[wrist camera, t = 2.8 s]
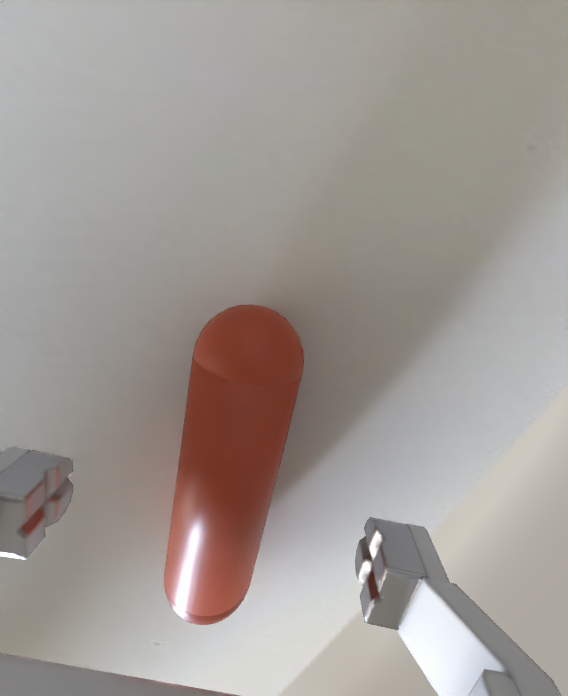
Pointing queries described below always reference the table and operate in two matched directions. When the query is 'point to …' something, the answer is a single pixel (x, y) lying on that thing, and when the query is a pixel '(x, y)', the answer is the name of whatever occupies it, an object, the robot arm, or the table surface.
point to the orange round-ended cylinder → (229, 457)
